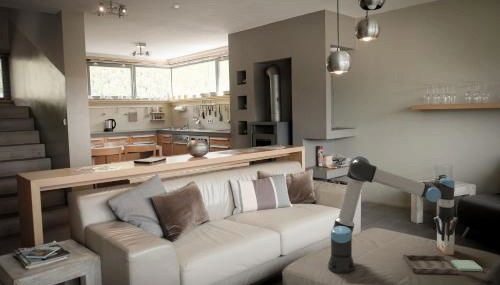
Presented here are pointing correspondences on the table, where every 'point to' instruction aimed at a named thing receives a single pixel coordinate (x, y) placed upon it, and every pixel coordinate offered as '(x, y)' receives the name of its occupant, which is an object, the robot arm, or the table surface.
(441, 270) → the slide box
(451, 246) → the cracker box
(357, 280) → the table surface
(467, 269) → the cover plate
